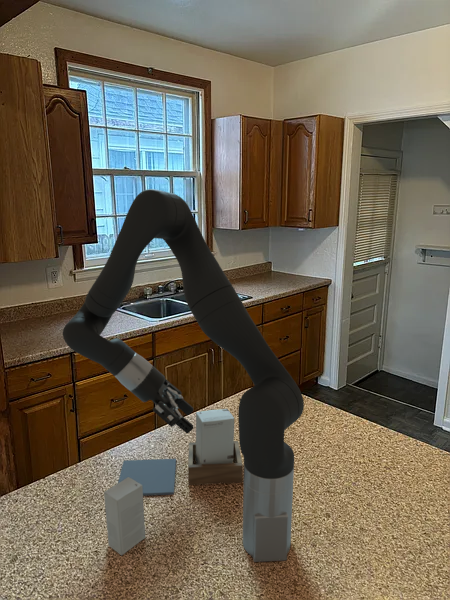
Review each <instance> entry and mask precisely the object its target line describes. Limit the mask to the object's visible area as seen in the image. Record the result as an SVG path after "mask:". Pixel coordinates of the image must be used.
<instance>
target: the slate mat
mask: <svg viewBox="0 0 450 600" xmlns="http://www.w3.org/2000/svg"><path fill="white" fill-rule="evenodd" d="M176 469H177V458H162V459H161V458H156V459H152V458H151V459H130V460H129V459H125V460H123V463H122V466H121V471H120V474H119V478H118V482H117V484H118V483H120V482H121V481H123V480H124V479H126V478H127V477H130V478H131V479H133V480H135V481H136V482H138V483H140V484H141V485H142V488H143V497H145V496H147V497H148V496H166V495H168V496H169V495H175V483H176Z"/></svg>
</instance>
